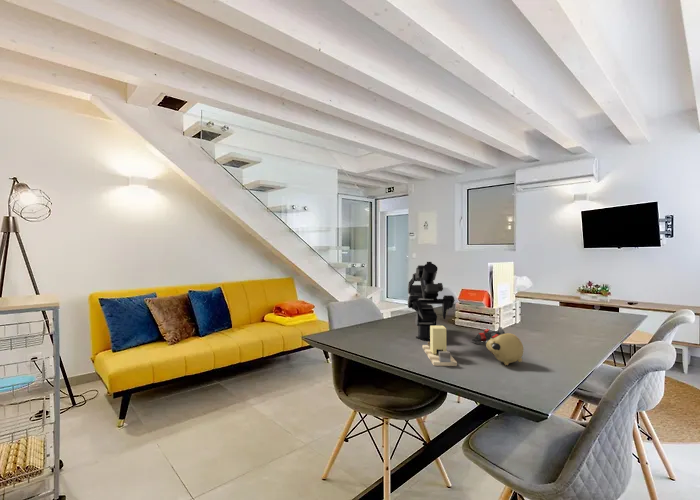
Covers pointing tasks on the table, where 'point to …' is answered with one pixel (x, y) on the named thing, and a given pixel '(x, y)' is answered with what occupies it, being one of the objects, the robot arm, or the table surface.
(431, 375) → the table surface
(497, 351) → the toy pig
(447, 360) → the comb board
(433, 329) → the yellow square block
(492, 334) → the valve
